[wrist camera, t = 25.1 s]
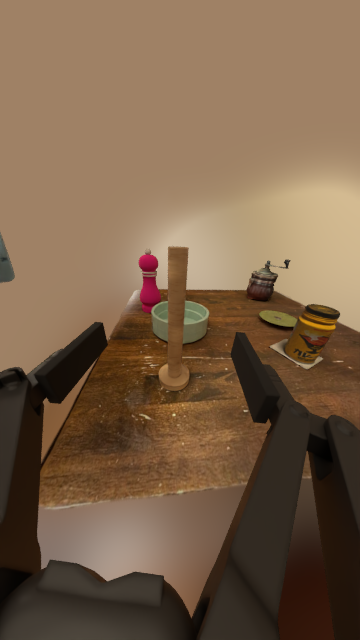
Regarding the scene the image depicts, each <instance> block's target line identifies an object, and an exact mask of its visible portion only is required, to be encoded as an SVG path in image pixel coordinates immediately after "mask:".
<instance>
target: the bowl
mask: <svg viewBox="0 0 360 640" xmlns="http://www.w3.org/2000/svg"><path fill="white" fill-rule="evenodd" d="M151 318H152V329H153V332H154V334H156V335H157V336H158V337H159V338H161V339H163V340H165V341H167V342H168V301H165V302H161V303H159V304H156V305H155V306H154V307H153V308H152V310H151ZM208 319H209V311H208V309H207V308H205V307H204V306H203V305H200V304H198V303H195V302H191V301H185V313H184V330H183V344H185V343H191V342H194V341H197V340H198V339H200V338H202V337H203V336H204V335H205V334H206V331H207V326H208Z"/></svg>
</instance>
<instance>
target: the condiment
mask: <svg viewBox="0 0 360 640" xmlns="http://www.w3.org/2000/svg"><path fill="white" fill-rule="evenodd" d="M339 316H340V313H339V311H337V310H335V309H333V308H330V307H327V306H323V305H315V304H311V305H307V306H306V308H305V311H304V312H303V313H302V315H301V316H300V317H299V318H298V320H297V322H296V324H295V326H294V329H293V331H292V333H291V335H290V337H289V339H288V340H287V339H285V340H283V341H281V342H279V343H277V344H274V345H271V346H269V347H271V348H273V349H274V350H276V351H278V352H279V353H281V354H282V355H284V356H285V357H287V358H288V359H290V360H292V361H293V362H295V363H296V364H298V365H300V366H301V367H303V368H305V369H309V368H311V367H312V366H314V365H315V364H317V363H318V362H319V361H321V360H322V359H323V358H321V357H319V354H320V353H321V351H322V349H323V348H324V346H325V344H326V342H327V341H328V340H329V338H330V336H331V334H332V333H333V332H334V330H335V323H336V322H337V319H338V318H339Z"/></svg>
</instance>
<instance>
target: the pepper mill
mask: <svg viewBox="0 0 360 640" xmlns="http://www.w3.org/2000/svg"><path fill="white" fill-rule="evenodd" d="M145 254H146V255H143V256H141V257H140V260H139V266H140V268H141V269H142V271H141V273H142V274H141V275H142V276H143V287H142V290H141V293H140V301H141V302H142V303H143V304H142V310H143V311H144V312H147V313H151V310H152V308H153V307H154V306H155V305H156V304H159V302H160V300H161V295H160V292H159V290H158V288H157V286H156V276H157V271H156V269H157V267H158V261H157V259H156V257H154V256H153V255H150V254H151V251H150V250H149V249H146V250H145Z"/></svg>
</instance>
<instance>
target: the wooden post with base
mask: <svg viewBox="0 0 360 640" xmlns="http://www.w3.org/2000/svg"><path fill="white" fill-rule="evenodd" d="M187 264H188V248H187V247H168V364H166V365H164V366H163V367H162V368H161V369H160V371H159V382H160V384H161V385H162V386H163V387H164V388H165V389H167V390H170V391H178V390H181V389H183V388H185V387H186V386H187V384H188V382H189V376H190V374H189V370H188V369H187V367H186V366H184V365H183V364H181V363H182V346H183V330H184V313H185V297H186V280H187Z"/></svg>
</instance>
